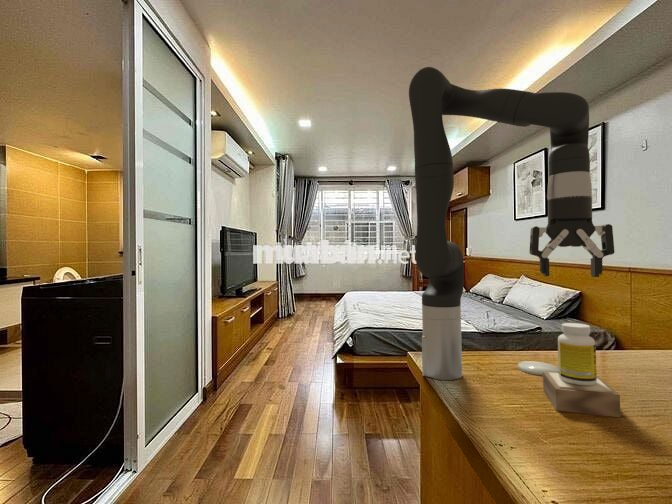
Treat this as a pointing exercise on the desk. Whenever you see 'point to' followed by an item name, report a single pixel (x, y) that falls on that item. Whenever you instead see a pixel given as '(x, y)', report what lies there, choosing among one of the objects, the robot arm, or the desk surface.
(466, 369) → the desk surface
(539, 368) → the pale white disc
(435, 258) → the robot arm
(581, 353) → the pill bottle
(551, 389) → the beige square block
